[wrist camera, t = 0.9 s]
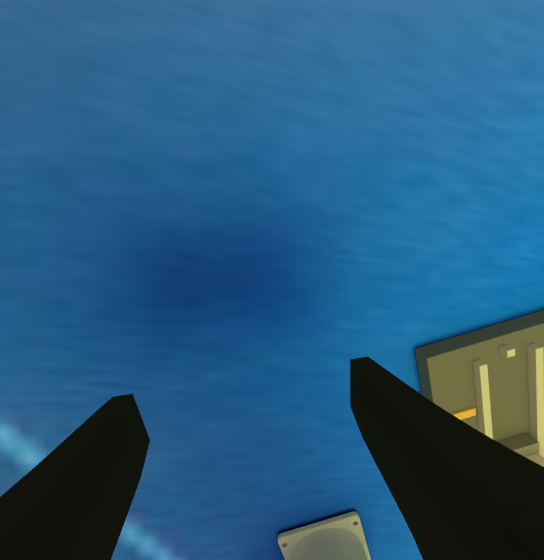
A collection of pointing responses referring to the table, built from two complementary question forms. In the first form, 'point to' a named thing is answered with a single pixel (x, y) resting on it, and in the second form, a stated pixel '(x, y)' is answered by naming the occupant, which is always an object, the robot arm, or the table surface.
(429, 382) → the console
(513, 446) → the fader
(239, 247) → the table surface
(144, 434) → the robot arm
